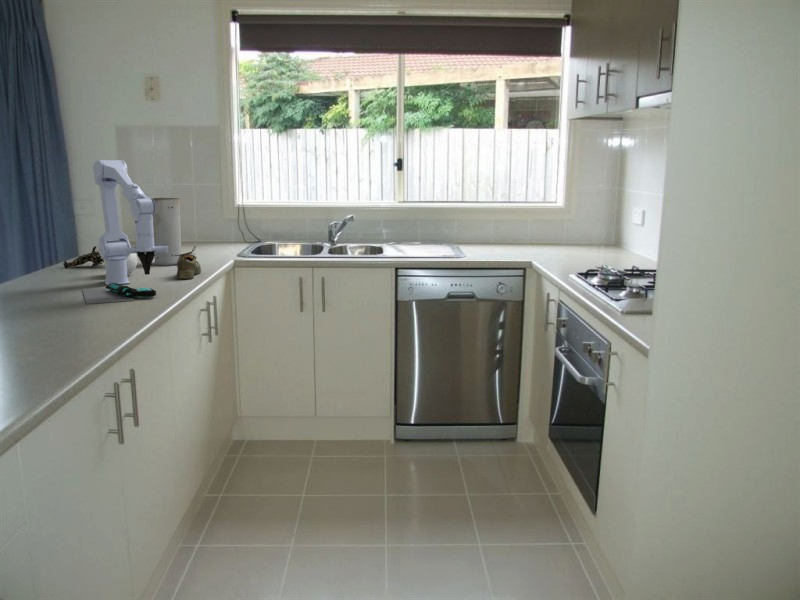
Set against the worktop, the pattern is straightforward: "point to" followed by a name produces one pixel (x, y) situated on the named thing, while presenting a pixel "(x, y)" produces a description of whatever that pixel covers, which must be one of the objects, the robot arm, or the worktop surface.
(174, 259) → the vase
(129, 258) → the decorative ball
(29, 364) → the worktop surface
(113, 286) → the toy gun
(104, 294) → the mat
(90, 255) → the figurine
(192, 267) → the hiking shoe
